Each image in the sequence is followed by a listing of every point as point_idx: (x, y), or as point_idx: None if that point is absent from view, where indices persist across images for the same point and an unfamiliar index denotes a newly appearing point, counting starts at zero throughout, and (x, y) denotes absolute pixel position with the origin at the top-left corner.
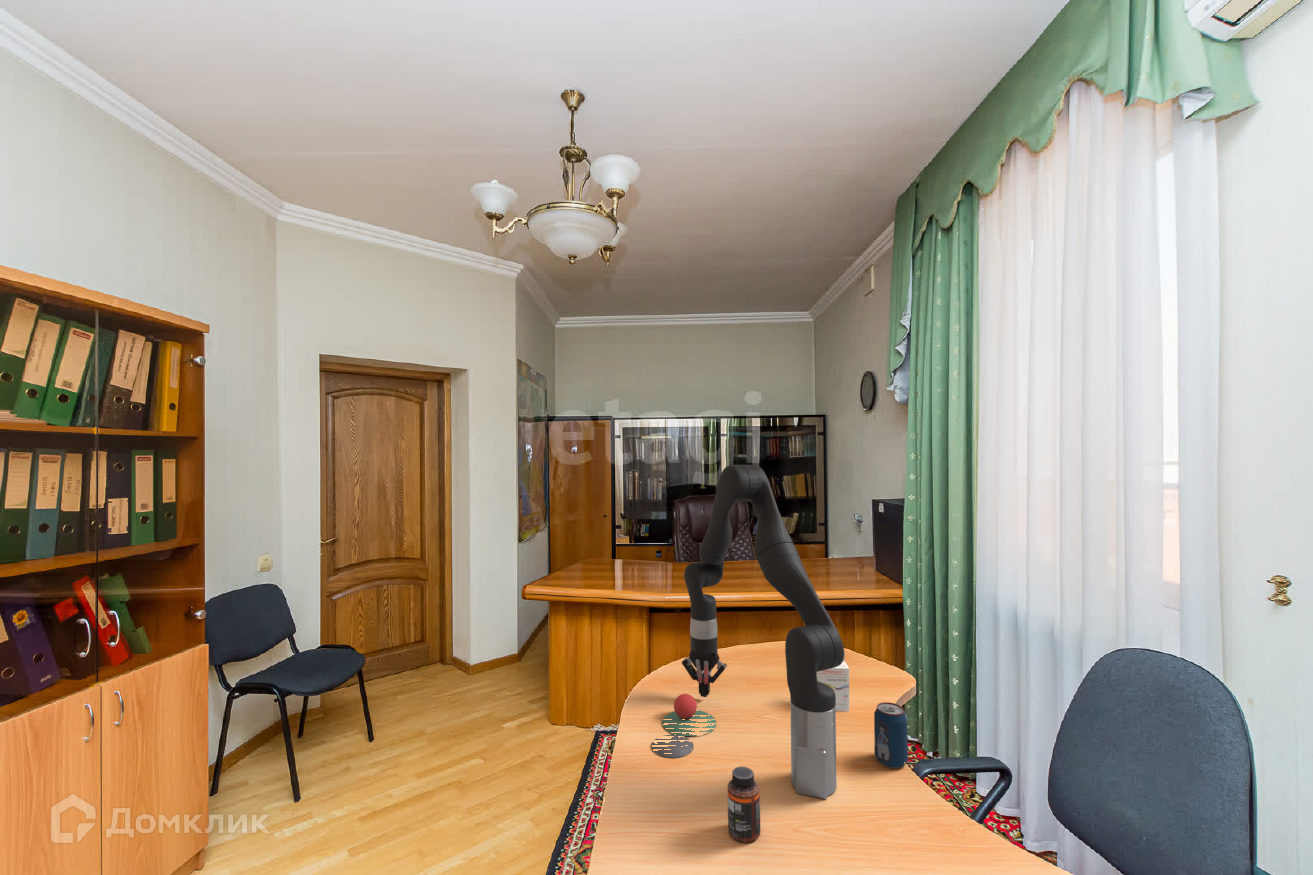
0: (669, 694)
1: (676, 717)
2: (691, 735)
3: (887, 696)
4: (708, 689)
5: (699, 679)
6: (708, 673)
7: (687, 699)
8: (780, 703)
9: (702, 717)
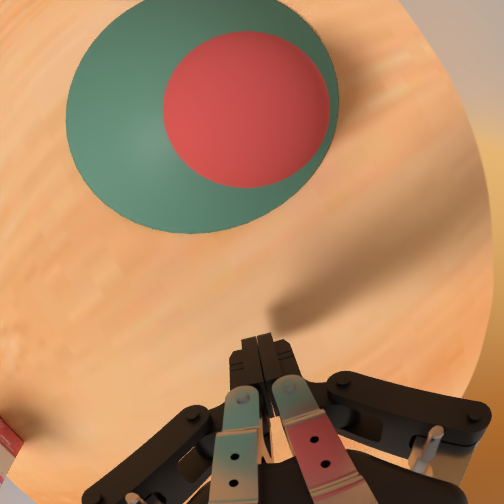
0: (421, 288)
1: None
2: (126, 16)
3: None
4: (230, 374)
5: (296, 392)
6: (219, 454)
7: (205, 57)
8: (51, 424)
9: (160, 172)
